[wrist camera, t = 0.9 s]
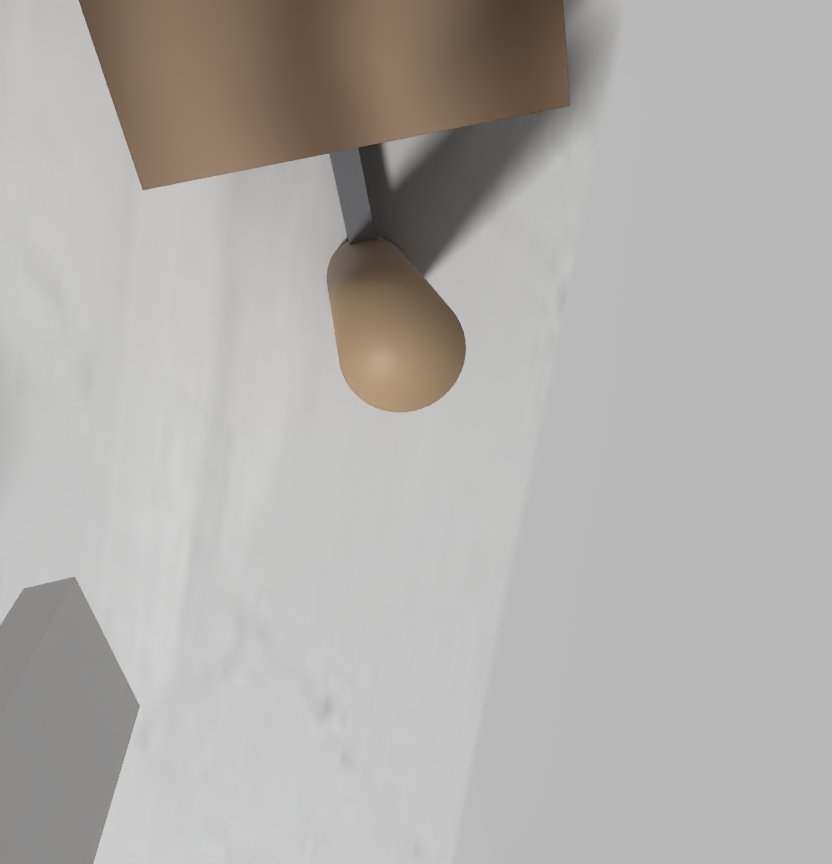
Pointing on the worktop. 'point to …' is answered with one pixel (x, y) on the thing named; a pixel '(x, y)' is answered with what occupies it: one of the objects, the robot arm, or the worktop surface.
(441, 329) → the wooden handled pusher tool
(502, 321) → the worktop surface
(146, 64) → the shelf lane
